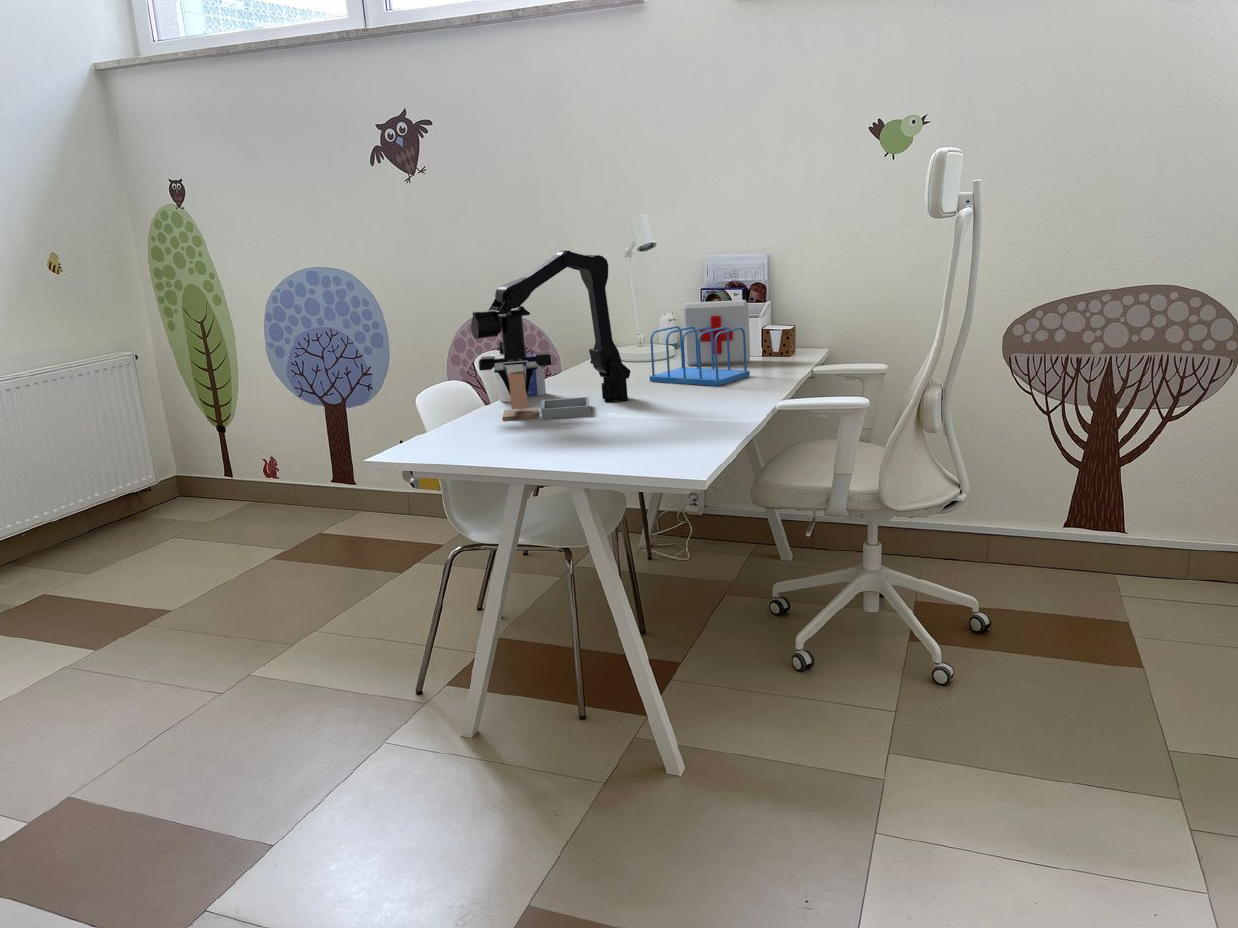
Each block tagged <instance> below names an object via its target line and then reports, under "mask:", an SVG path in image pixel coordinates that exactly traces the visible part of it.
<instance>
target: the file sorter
mask: <svg viewBox="0 0 1238 928" xmlns="http://www.w3.org/2000/svg"><path fill="white" fill-rule="evenodd" d="M691 328H693V329H694V330H691V331H687V332H685V333H684V332H682V331H683V330H686V329H691ZM703 329H709V330H708V331H704V332H702V333H701V334H700V335H699V338H697V331H699V330H703ZM721 329H725V330H726V331H722V332H719V333H717V335H716V337H715V364H716V365H714V345H713V331H717V330H721ZM739 329H741V330H742V333H743V345H744V364H743V367H744V368H743V369H731V364H730V348H729V332H730V331H734V330H739ZM668 330H670V331H669V332H668V333H667V335H666V339H665V347H666V366H667V371H664V372H659V373H656V374H655V358H654V345H653V344H654V343H653V342H654V341H653V340H654V335H655V334H656V333H660V332H663V331H668ZM678 332H679V339H680V340H679V343H680V359H681V360H680V361H681V362H680V363H681V367H678V368H674V369H670V351H669V350H670V349H669V337H670V335H671V334H672V333H678ZM691 332H695V339H696V359H697V365H696V367H691V366H686V363H685V352H684V338H685V335H686V334H687V333H691ZM709 332H711V350H712V365H711V367H712V368H709V367H702V365H701V351H700V339H701V336H702V335H703V334H705V333H709ZM722 333H727V351H728V364H727V368H719V365H718V360H717V338H718V336H719V335H720V334H722ZM650 353H651V354H650V357H651V359H650V360H651V372H652V375H650V376H649V382H652V383H673V384H684V385H685V384H686V385H689V384H690V385H700V386H701V385H704V386H717V387H719V386H722V385H725V384H728V383H731V382H734V381H737V380H740V379H744V378H747V377H750V376H751V374H750V373H751V372H750V370H747V367H748V366H747V363H746V341H745V331H744V329H743V328H741V327H739V328H734V329H730V330H728V329H727V328H726V327H721V328H716V329H711V328H710V327H703V328H699V329H696V328H695V327H687V328H681V327H679V326H678V325H677V326H676V325H675V326H670V327H666V328H662V329H657V330H653V331H652V333H651V335H650ZM698 354H699V360H698Z"/></svg>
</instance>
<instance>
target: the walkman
mask: <svg viewBox="0 0 1238 928" xmlns="http://www.w3.org/2000/svg"><path fill="white" fill-rule="evenodd" d="M529 356H536V354H527V356H526V357H529ZM526 367H527V364H523V371H525V378H526ZM546 393H547V391H546V379H545V366H539V365H538V369H536V370H533V373H532V376H531V379H530V384H529V389H528V393H527V397H529V396H530V397H532V396H534V397H535V396H544V395H546Z"/></svg>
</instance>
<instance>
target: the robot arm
mask: <svg viewBox="0 0 1238 928" xmlns="http://www.w3.org/2000/svg"><path fill="white" fill-rule="evenodd" d="M566 268H570V269H572V270H575V271H579V274H580V277H581V280H582V282H583V284H584V286H585V287H586V289H587V292H588V299H589V306H590V307H589V308H590V313H591V320H592V327H593V333H594V340H595V341H594V345H593V348H589V349H588V353H589V356H590V364H591V365H592V367H593V368H594V370H596V371H597V372H598V375H599V376H600V377H601V378H602V380H603V382H601V394H602V395H601V396H602V400H604V402H605V403H608V402H610V403H611V402H621V401H624V402H625V401H629V396H628V387H627V386H628V385H627V379H629V378H630V375H631V370H630V369H629V368H628V367H627V366H626V365H624V364H623V363H622V362H623V361H622V357H621V355H620V352H619V349H618V348H617V346H616V344H615V342H614V340H613V333H612V326H611V320H610V311H609V306H608V300H607V299H608V298H607V291H606V286H607V283H608V279H609V263H608V260H607V258H605V257H604V256H603V255H601V254H596V255H595V254H581V253H577V252H572V251H570V250H559V251H557V252H556V253H555V255H553V256H552V257H550V258H549V259H548V260H546V261H544V262H543V263H542V264H540V265H538V266H537V267H536V268H534V269H533V270H531V271H529V272H528V273H527V274H525V275H524V276H523V277H520V278H518V279H515V280H511V281H509V282H506V283H505V284H502V285H500V286H499V287H498V288H497V289H496V290H495V293H494V296H495V298H494V299H493V302H492V304H491V306H490V307H489V309H488V311H486V310H485V311H473V312H472V318H471V324H470V330H471V331H470V332H471V334H472V337H473V338H474V339H475V340H479V339H486V338H487V339H488V338H496V337H498V336H499V334H501V340H502V341H499V342H498V344H499V345H498V347H499V354H500V355H504V358H503V359H495V356H491V355H489V356H481V357H480V359H479V361H478V369H479V371H490V370H493V369H492V368H493V367H494V368H495V370H494V373H499V375H500V377H501V378H502V380H503V381H504V383H505V386H506V388H507V390H508V392H509V394H510V385H509V377H508V373H507V367H505V365H516V364H527V367H526V393H528V389H529V384H530V379H531V376H532V373H533V370H536V369H538V365H539V366H543V367H545V366H551V365H552V364H553V360H552V359H553V358H552V353H551V352H549V351H543V352H542V351H541V352H536V353H535V355H536V356H529V357H526V356H527V355H528V353H527V345H526V342H525V331H524V321H523V319H524V318H523V316H530V315H531V312H529V311H528V310H527V309H526V307H524V306H523V304H524V303H525V302H526V301H527V300H528V299H529V297H530V296H531V294H532V293H533V292H534V291H535V290H536V289H538V288H539V287H540V286H542V285H543V284H545V283H547V281H549V280H550V279H552V278H553V277H555V276H556V275H558V274H559V273H560V272H563V270H565V269H566ZM494 373H493V374H494Z"/></svg>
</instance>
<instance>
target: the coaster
mask: <svg viewBox="0 0 1238 928" xmlns="http://www.w3.org/2000/svg"><path fill="white" fill-rule="evenodd" d="M538 414H539V407H527V408H522V409H512V408H511V409H504V411H503V414H502V421H503V422H504V421H517V420H530V419H538V416H539V415H538Z"/></svg>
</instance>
